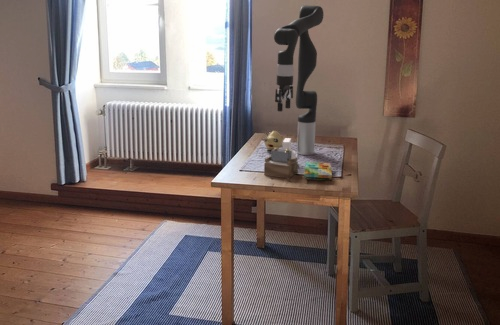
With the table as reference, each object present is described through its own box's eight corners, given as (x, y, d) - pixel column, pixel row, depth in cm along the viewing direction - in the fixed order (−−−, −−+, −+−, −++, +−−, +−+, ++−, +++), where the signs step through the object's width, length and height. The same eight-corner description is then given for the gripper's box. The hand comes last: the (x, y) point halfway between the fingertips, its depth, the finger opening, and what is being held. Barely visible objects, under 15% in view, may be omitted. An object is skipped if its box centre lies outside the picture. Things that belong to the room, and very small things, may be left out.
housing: (291, 161, 218) (291, 148, 217) (287, 163, 214) (287, 150, 213) (275, 158, 222) (275, 146, 220) (271, 161, 218) (271, 148, 216)
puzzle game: (330, 161, 224) (332, 173, 205) (330, 171, 226) (331, 183, 206) (305, 160, 226) (304, 172, 207) (305, 169, 227) (304, 182, 208)
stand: (273, 169, 226) (274, 153, 224) (297, 172, 221) (297, 157, 219) (264, 174, 218) (264, 158, 216) (288, 178, 212) (288, 162, 210)
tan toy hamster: (261, 152, 259) (261, 132, 256) (267, 147, 270) (267, 128, 267) (278, 153, 256) (279, 134, 253) (284, 148, 267) (284, 129, 264)
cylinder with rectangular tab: (294, 166, 231) (295, 142, 228) (275, 165, 233) (276, 141, 230) (296, 162, 240) (297, 138, 236) (278, 161, 241) (279, 137, 238)
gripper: (285, 76, 210) (284, 113, 214) (298, 73, 221) (297, 108, 226) (270, 75, 213) (269, 111, 218) (284, 72, 225) (283, 106, 230)
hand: (283, 109), depth 222 cm, fingers open, 8 cm apart
